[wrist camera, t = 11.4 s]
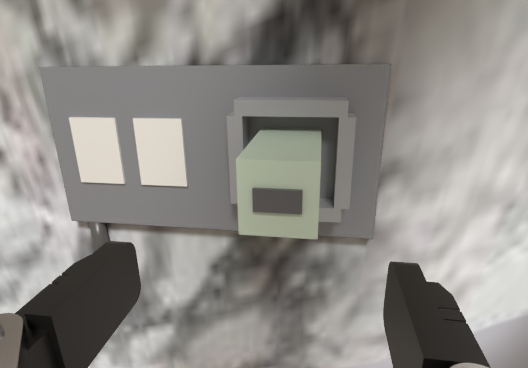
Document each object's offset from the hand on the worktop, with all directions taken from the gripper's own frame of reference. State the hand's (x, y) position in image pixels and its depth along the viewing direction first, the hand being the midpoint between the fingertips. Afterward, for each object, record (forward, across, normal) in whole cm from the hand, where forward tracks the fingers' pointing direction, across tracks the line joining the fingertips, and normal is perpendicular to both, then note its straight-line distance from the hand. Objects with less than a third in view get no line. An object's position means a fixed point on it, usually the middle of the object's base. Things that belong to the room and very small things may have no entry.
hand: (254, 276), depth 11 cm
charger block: (+15, 0, 0) cm, 15 cm away
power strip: (+16, +6, +2) cm, 17 cm away
